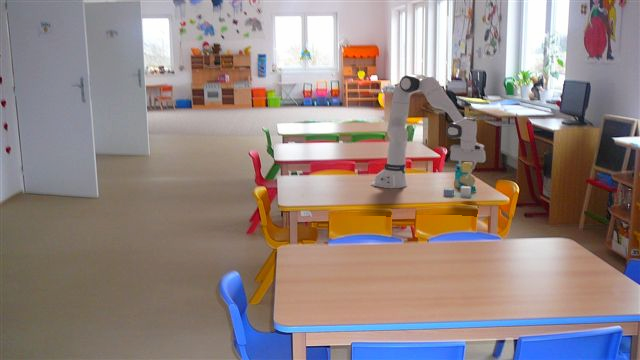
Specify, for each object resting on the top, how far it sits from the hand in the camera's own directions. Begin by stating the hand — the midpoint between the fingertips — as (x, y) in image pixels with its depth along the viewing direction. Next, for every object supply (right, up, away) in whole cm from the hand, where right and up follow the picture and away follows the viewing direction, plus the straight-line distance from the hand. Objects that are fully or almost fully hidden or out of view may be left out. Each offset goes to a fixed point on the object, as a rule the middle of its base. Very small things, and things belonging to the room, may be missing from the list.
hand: (467, 168), depth 387 cm
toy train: (+4, -13, +22) cm, 26 cm away
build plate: (0, -17, +3) cm, 17 cm away
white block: (0, -16, +3) cm, 16 cm away
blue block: (-10, -17, +4) cm, 20 cm away
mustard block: (0, -2, 0) cm, 2 cm away
